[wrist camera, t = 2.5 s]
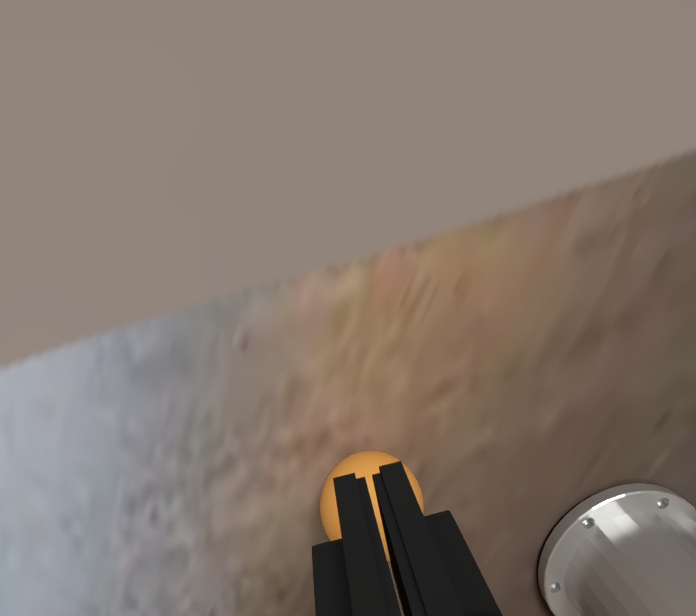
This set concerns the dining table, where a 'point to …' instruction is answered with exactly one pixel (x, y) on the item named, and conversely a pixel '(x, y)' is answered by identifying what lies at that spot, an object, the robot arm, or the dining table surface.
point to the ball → (366, 467)
